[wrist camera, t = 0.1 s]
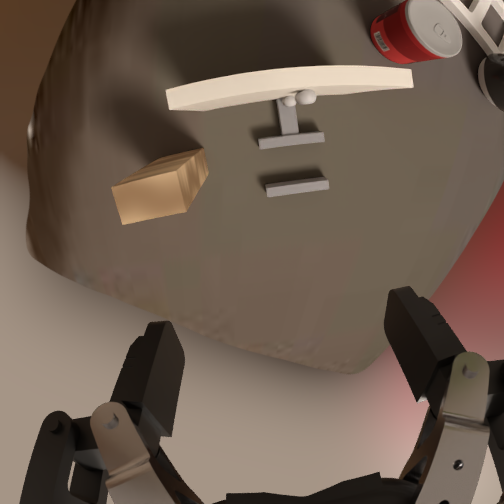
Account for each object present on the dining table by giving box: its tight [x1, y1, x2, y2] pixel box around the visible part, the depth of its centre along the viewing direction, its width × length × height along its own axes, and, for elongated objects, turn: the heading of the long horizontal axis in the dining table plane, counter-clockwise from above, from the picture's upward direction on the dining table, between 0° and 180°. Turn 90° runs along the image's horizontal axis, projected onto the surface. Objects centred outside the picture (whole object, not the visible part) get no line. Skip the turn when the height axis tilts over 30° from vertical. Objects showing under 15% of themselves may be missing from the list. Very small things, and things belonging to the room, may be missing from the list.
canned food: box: [370, 0, 462, 64], centre depth 22 cm, size 8×8×11 cm
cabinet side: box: [166, 66, 413, 197], centre depth 27 cm, size 14×18×17 cm
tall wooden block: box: [111, 148, 209, 225], centre depth 29 cm, size 4×6×15 cm, turn 99°
